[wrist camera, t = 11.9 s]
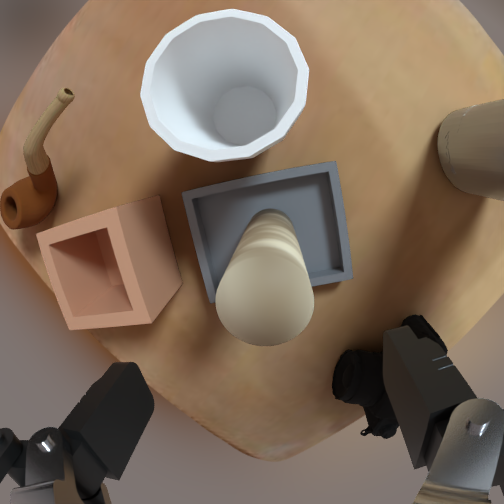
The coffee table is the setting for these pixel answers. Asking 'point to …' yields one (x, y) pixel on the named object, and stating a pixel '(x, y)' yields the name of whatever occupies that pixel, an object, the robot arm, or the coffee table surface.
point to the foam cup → (225, 85)
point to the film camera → (374, 381)
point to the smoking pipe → (35, 173)
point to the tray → (281, 198)
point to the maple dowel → (266, 283)
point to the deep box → (112, 266)
